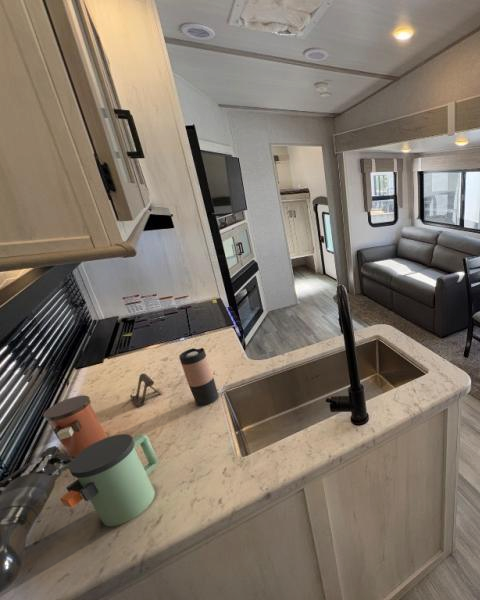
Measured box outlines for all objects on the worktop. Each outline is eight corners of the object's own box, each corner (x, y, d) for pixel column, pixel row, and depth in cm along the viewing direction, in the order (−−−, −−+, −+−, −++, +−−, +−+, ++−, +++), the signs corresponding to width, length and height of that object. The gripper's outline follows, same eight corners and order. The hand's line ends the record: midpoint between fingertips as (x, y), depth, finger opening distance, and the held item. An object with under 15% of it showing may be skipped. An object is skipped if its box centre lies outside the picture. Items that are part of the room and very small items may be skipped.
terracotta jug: (75, 436, 99) (54, 397, 94) (114, 424, 104) (96, 386, 99) (59, 467, 88) (34, 425, 83) (103, 451, 93) (82, 410, 87)
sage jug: (148, 471, 85) (124, 421, 79) (179, 477, 82) (158, 426, 76) (82, 529, 71) (48, 473, 65) (118, 539, 68) (85, 482, 62)
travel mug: (199, 410, 108) (182, 361, 101) (193, 401, 113) (176, 353, 106) (222, 398, 113) (207, 351, 106) (215, 390, 118) (200, 345, 111)
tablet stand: (131, 399, 116) (123, 381, 113) (156, 388, 122) (148, 370, 119) (138, 408, 111) (130, 389, 108) (163, 396, 117) (156, 378, 114)
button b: (62, 435, 86) (59, 430, 86) (74, 431, 88) (71, 426, 87) (59, 440, 85) (56, 434, 84) (71, 436, 86) (68, 430, 85)
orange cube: (75, 496, 66) (71, 489, 65) (83, 498, 65) (79, 491, 64) (63, 505, 64) (59, 498, 63) (72, 507, 63) (67, 500, 63)
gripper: (56, 474, 67) (81, 427, 81) (-37, 508, 61) (8, 450, 75) (71, 499, 69) (93, 448, 83) (-16, 534, 63) (23, 473, 77)
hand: (53, 449), depth 79 cm, fingers closed
